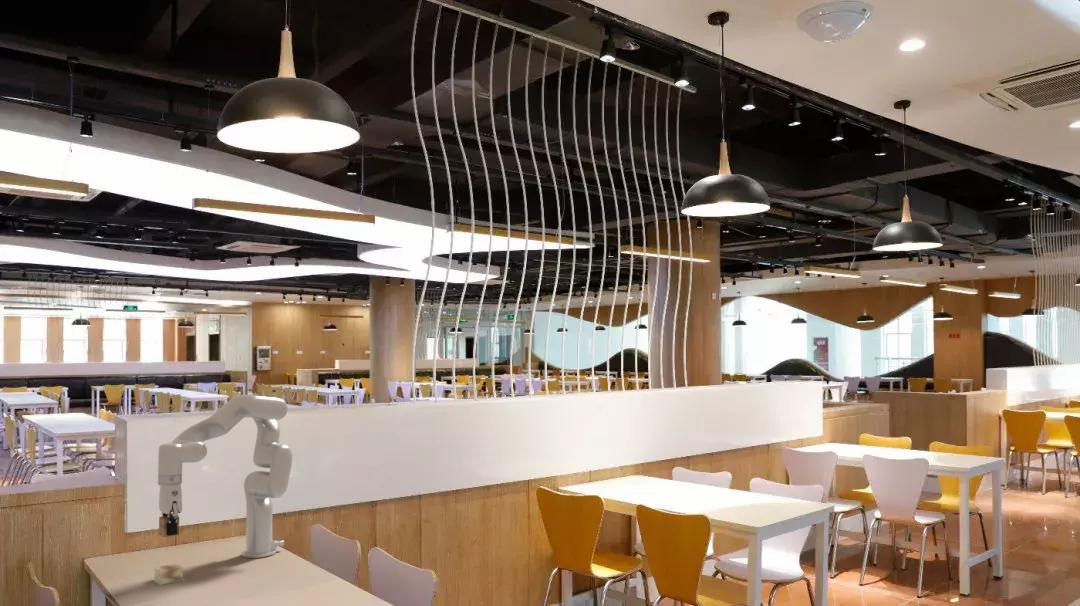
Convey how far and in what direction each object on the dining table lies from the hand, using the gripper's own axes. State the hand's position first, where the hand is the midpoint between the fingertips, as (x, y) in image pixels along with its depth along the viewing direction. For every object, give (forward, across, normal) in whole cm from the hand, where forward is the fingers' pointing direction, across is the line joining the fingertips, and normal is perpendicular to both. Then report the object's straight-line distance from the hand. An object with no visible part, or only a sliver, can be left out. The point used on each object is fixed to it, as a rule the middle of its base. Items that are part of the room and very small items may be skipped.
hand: (169, 532), depth 266 cm
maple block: (+16, 0, 0) cm, 16 cm away
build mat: (+16, 0, 0) cm, 16 cm away
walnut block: (+1, 0, 0) cm, 1 cm away
